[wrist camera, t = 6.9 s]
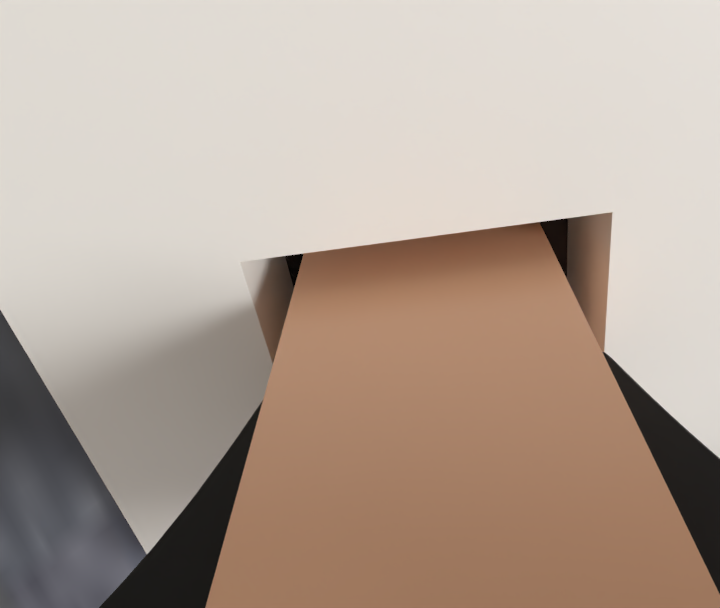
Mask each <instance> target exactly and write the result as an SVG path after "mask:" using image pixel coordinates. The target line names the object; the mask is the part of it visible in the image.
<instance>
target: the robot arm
mask: <svg viewBox="0 0 720 608" xmlns="http://www.w3.org/2000/svg"><path fill="white" fill-rule="evenodd" d="M602 353H603V355H604V357H605V359H606V361H607V363H608V365H609V367H610V369H611V371H612V373H613V375H614V377H615V379H616V381H617V383H618V386H619V388H620V390H621V392H622V394H623V396H624V398H625V400H626V402H627V404H628V406H629V408H630V410H631V412H632V414H633V416H634V419H635V421H636V423H637V425H638V427H639V429H640V431H641V433H642V435H643V437H644V439H645V441H646V443H647V445H648V447H649V449H650V452H651V454H652V456H653V458H654V460H655V462H656V464H657V466H658V468H659V470H660V472H661V474H662V476H663V478H664V480H665V483H666V485H667V487H668V489H669V491H670V493H671V495H672V497H673V499H674V501H675V503H676V505H677V507H678V509H679V511H680V513H681V516H682V518H683V520H684V522H685V524H686V526H687V528H688V530H689V532H690V534H691V536H692V538H693V540H694V542H695V544H696V546H697V549H698V551H699V553H700V555H701V557H702V559H703V561H704V563H705V565H706V567H707V569H708V571H709V573H710V575H711V577H712V580H713V582H714V584H715V586H716V588H717V590H718V592H719V594H720V458H719V457H718V456H716V455H715V454H714V453H713V452H712V451H711V450H710V449H708V448H707V447H706V446H705V445H704V444H703V443H702V442H700V441H699V440H698V439H697V438H696V437H695V436H694V435H692V434H691V433H690V432H689V431H688V430H687V429H686V428H684V427H683V426H682V425H681V424H680V423H679V422H678V421H677V420H676V419H675V418H674V417H672V416H671V415H670V414H669V413H668V412H667V411H666V410H665V409H664V408H663V407H662V406H661V405H660V404H659V403H658V402H656V401H655V400H654V399H653V398H652V397H651V396H650V395H649V394H648V393H647V392H646V391H645V390H644V389H643V388H642V387H641V386H640V385H639V384H638V383H637V382H636V381H635V380H634V379H633V378H632V377H631V376H630V375H628V374H627V373H626V372H625V371H624V370H623V369H622V368H621V367H620V366H619V365H618V364H617V363H616V362H615V361H614V360H613V359H612V358H611V357H610V356H609V355H607V354H606V353H605V352H602ZM262 402H263V400H262ZM262 402H261V403H260V405H259V406H258V408H257V409H256V410H255V412H254V413H253V415H252V416H251V418H250V419H249V421H248V422H247V424H246V425H245V426H244V428H243V429H242V431H241V432H240V434H239V435H238V437H237V438H236V439H235V441H234V442H233V444H232V445H231V447H230V448H229V449H228V451H227V452H226V454H225V455H224V456H223V458H222V459H221V460H220V462H219V463H218V465H217V466H216V467H215V469H214V470H213V471H212V473H211V474H210V475H209V477H208V478H207V479H206V481H205V482H204V484H203V485H202V486H201V488H200V489H199V490H198V492H197V493H196V494H195V496H194V497H193V498H192V500H191V501H190V502H189V503H188V505H187V506H186V507H185V508H184V510H183V511H182V512H181V513H180V515H179V516H178V517H177V518H176V520H175V521H174V522H173V523H172V524H171V526H170V527H169V528H168V529H167V531H166V532H165V533H164V534H163V536H162V537H161V538H160V539H159V541H158V542H157V543H156V544H155V546H154V547H153V548H152V549H151V550H150V552H149V553H148V554H147V555H146V556H145V557H144V559H143V560H142V561H141V562H140V563H139V564H138V565H137V567H136V568H135V569H134V570H133V571H132V572H131V573H130V575H129V576H128V577H127V578H126V579H125V580H124V581H123V582H122V583H121V585H120V586H119V587H118V588H117V589H116V590H115V591H114V592H113V593H112V594H111V595H110V597H109V598H108V599H107V600H106V601H105V602H104V603H103V604H102V605H101V606H100V607H99V608H205V607H206V603H207V600H208V596H209V593H210V589H211V585H212V582H213V578H214V575H215V571H216V567H217V564H218V560H219V557H220V553H221V549H222V546H223V542H224V539H225V535H226V531H227V528H228V524H229V521H230V517H231V513H232V510H233V506H234V503H235V499H236V495H237V492H238V488H239V485H240V481H241V477H242V474H243V470H244V467H245V463H246V459H247V456H248V452H249V449H250V445H251V441H252V438H253V434H254V431H255V427H256V423H257V420H258V416H259V413H260V409H261V405H262Z"/></svg>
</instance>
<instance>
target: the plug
mask: <svg viewBox="0 0 720 608" xmlns="http://www.w3.org/2000/svg"><path fill="white" fill-rule="evenodd" d="M205 608H720V594H719V592H718V590H717V588H716V586H715V584H714V582H713V580H712V577H711V575H710V573H709V571H708V569H707V567H706V565H705V563H704V561H703V559H702V557H701V555H700V553H699V551H698V549H697V546H696V544H695V542H694V540H693V538H692V536H691V534H690V532H689V530H688V528H687V526H686V524H685V522H684V520H683V518H682V516H681V513H680V511H679V509H678V507H677V505H676V503H675V501H674V499H673V497H672V495H671V493H670V491H669V489H668V487H667V485H666V483H665V480H664V478H663V476H662V474H661V472H660V470H659V468H658V466H657V464H656V462H655V460H654V458H653V456H652V454H651V452H650V449H649V447H648V445H647V443H646V441H645V439H644V437H643V435H642V433H641V431H640V429H639V427H638V425H637V423H636V421H635V419H634V416H633V414H632V412H631V410H630V408H629V406H628V404H627V402H626V400H625V398H624V396H623V394H622V392H621V390H620V388H619V386H618V383H617V381H616V379H615V377H614V375H613V373H612V371H611V369H610V367H609V365H608V363H607V361H606V359H605V357H604V355H603V353H602V350H601V348H600V346H599V344H598V342H597V340H596V338H595V336H594V334H593V332H592V330H591V328H590V326H589V324H588V322H587V319H586V317H585V315H584V313H583V311H582V309H581V307H580V305H579V303H578V301H577V299H576V297H575V295H574V293H573V291H572V289H571V286H570V284H569V282H568V280H567V278H566V276H565V274H564V272H563V270H562V268H561V266H560V264H559V262H558V260H557V258H556V256H555V253H554V251H553V249H552V247H551V245H550V243H549V241H548V239H547V237H546V235H545V233H544V231H543V229H542V227H541V225H540V222H535V223H528V224H520V225H513V226H505V227H498V228H490V229H483V230H475V231H468V232H460V233H453V234H445V235H438V236H431V237H423V238H416V239H408V240H401V241H393V242H386V243H378V244H371V245H363V246H356V247H348V248H341V249H333V250H326V251H318V252H311V253H304V254H303V258H302V261H301V265H300V269H299V272H298V276H297V279H296V283H295V287H294V290H293V294H292V297H291V301H290V305H289V308H288V312H287V315H286V319H285V323H284V326H283V330H282V333H281V337H280V341H279V344H278V348H277V351H276V355H275V359H274V362H273V366H272V369H271V373H270V377H269V380H268V384H267V387H266V391H265V395H264V398H263V402H262V405H261V409H260V413H259V416H258V420H257V423H256V427H255V431H254V434H253V438H252V441H251V445H250V449H249V452H248V456H247V459H246V463H245V467H244V470H243V474H242V477H241V481H240V485H239V488H238V492H237V495H236V499H235V503H234V506H233V510H232V513H231V517H230V521H229V524H228V528H227V531H226V535H225V539H224V542H223V546H222V549H221V553H220V557H219V560H218V564H217V567H216V571H215V575H214V578H213V582H212V585H211V589H210V593H209V596H208V600H207V603H206V607H205Z"/></svg>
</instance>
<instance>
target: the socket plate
mask: <svg viewBox="0 0 720 608" xmlns="http://www.w3.org/2000/svg"><path fill="white" fill-rule="evenodd" d="M565 218H568V232H567V280H568V282H569V284H570V286H571V289H572V291H573V293H574V295H575V297H576V299H577V301H578V303H579V305H580V307H581V309H582V311H583V313H584V315H585V317H586V319H587V322H588V324H589V326H590V328H591V330H592V332H593V334H594V336H595V338H596V340H597V342H598V344H599V346H600V348H601V350H602V352H605V353H606V354H607V355H609V356H610V357H611V358H612V359H613V360H614V361H615V362H616V363H617V364H618V365H619V366H620V367H621V368H622V369H623V370H624V371H625V372H626V373H627V374H628V375H630V376H631V377H632V378H633V379H634V380H635V381H636V382H637V383H638V384H639V385H640V386H641V387H642V388H643V389H644V390H645V391H646V392H647V393H648V394H649V395H650V396H651V397H652V398H653V399H654V400H655V401H656V402H658V403H659V404H660V405H661V406H662V407H663V408H664V409H665V410H666V411H667V412H668V413H669V414H670V415H671V416H672V417H674V418H675V419H676V420H677V421H678V422H679V423H680V424H681V425H682V426H683V427H684V428H686V429H687V430H688V431H689V432H690V433H691V434H692V435H694V436H695V437H696V438H697V439H698V440H699V441H700V442H702V443H703V444H704V445H705V446H706V447H707V448H708V449H710V450H711V451H712V452H713V453H714V454H715V455H716V456H718V457H719V458H720V0H0V310H1V312H2V313H3V315H4V317H5V318H6V320H7V322H8V323H9V325H10V327H11V328H12V330H13V332H14V333H15V335H16V337H17V338H18V340H19V342H20V343H21V345H22V347H23V348H24V350H25V352H26V353H27V355H28V357H29V358H30V360H31V362H32V363H33V365H34V367H35V368H36V370H37V372H38V373H39V375H40V377H41V378H42V380H43V382H44V383H45V385H46V387H47V388H48V390H49V392H50V393H51V395H52V397H53V398H54V400H55V402H56V404H57V405H58V407H59V409H60V410H61V412H62V414H63V415H64V417H65V419H66V420H67V422H68V424H69V425H70V427H71V429H72V430H73V432H74V434H75V435H76V437H77V439H78V440H79V442H80V444H81V445H82V447H83V449H84V450H85V452H86V454H87V455H88V457H89V459H90V460H91V462H92V464H93V465H94V467H95V469H96V470H97V472H98V474H99V475H100V477H101V479H102V480H103V482H104V484H105V485H106V487H107V489H108V490H109V492H110V494H111V495H112V497H113V499H114V500H115V502H116V504H117V505H118V507H119V509H120V510H121V512H122V514H123V515H124V517H125V519H126V520H127V522H128V524H129V525H130V527H131V529H132V530H133V532H134V534H135V535H136V537H137V539H138V540H139V542H140V544H141V545H142V547H143V549H144V550H145V552H146V554H148V553H149V552H150V550H151V549H152V548H153V547H154V546H155V544H156V543H157V542H158V541H159V539H160V538H161V537H162V536H163V534H164V533H165V532H166V531H167V529H168V528H169V527H170V526H171V524H172V523H173V522H174V521H175V520H176V518H177V517H178V516H179V515H180V513H181V512H182V511H183V510H184V508H185V507H186V506H187V505H188V503H189V502H190V501H191V500H192V498H193V497H194V496H195V494H196V493H197V492H198V490H199V489H200V488H201V486H202V485H203V484H204V482H205V481H206V479H207V478H208V477H209V475H210V474H211V473H212V471H213V470H214V469H215V467H216V466H217V465H218V463H219V462H220V460H221V459H222V458H223V456H224V455H225V454H226V452H227V451H228V449H229V448H230V447H231V445H232V444H233V442H234V441H235V439H236V438H237V437H238V435H239V434H240V432H241V431H242V429H243V428H244V426H245V425H246V424H247V422H248V421H249V419H250V418H251V416H252V415H253V413H254V412H255V410H256V409H257V408H258V406H259V405H260V403H261V402H262V400H263V398H264V395H265V391H266V387H267V384H268V380H269V377H270V373H271V369H272V366H273V362H274V359H275V355H276V351H277V348H278V344H279V341H280V337H281V333H282V330H283V326H284V323H285V319H286V315H287V312H288V308H289V305H290V301H291V297H292V294H293V290H294V287H293V283H292V280H291V276H290V272H289V269H288V265H287V261H286V258H285V256H288V255H296V254H303V253H311V252H318V251H326V250H333V249H341V248H348V247H356V246H363V245H371V244H378V243H386V242H393V241H401V240H408V239H416V238H423V237H431V236H438V235H445V234H453V233H460V232H468V231H475V230H483V229H490V228H498V227H505V226H513V225H520V224H528V223H535V222H543V221H550V220H558V219H565Z"/></svg>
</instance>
